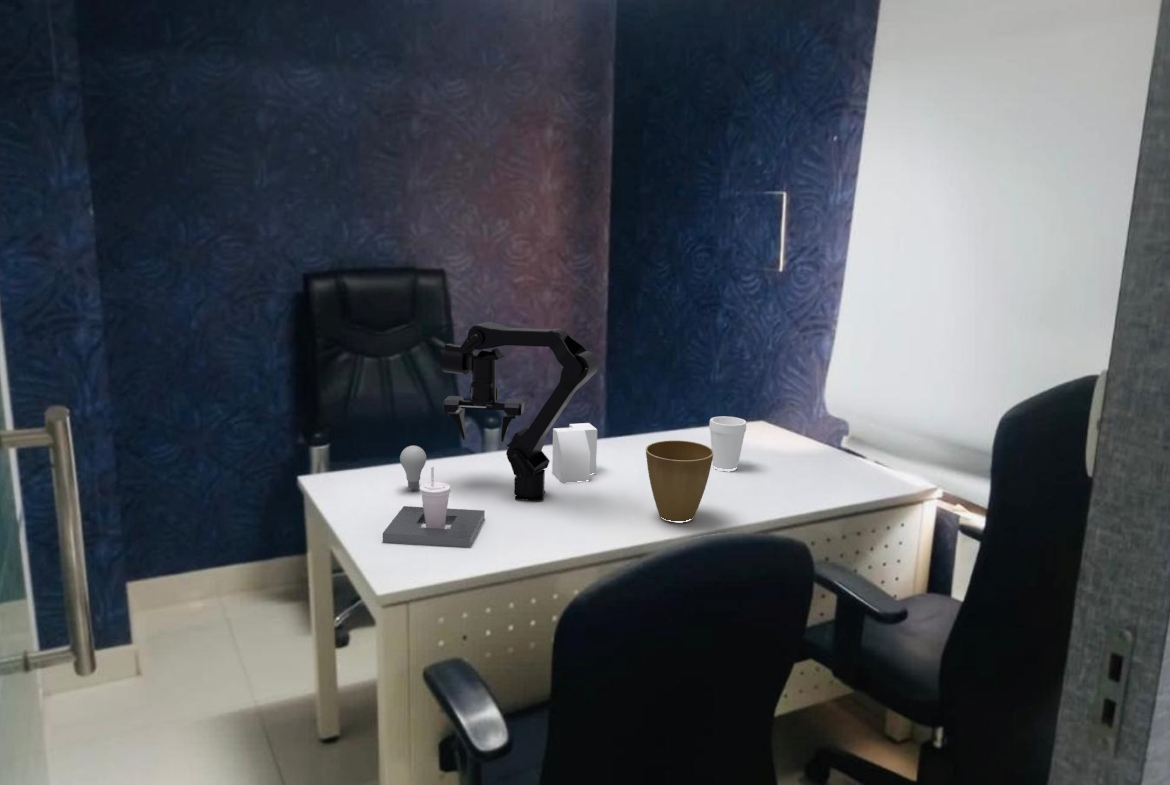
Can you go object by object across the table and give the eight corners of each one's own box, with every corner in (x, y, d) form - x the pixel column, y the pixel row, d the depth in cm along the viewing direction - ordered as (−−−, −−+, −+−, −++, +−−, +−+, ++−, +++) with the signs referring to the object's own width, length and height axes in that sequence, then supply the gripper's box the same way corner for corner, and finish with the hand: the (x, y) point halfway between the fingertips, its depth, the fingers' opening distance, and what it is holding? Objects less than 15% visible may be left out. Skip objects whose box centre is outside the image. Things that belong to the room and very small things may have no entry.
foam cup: (748, 467, 239) (751, 420, 236) (734, 476, 232) (738, 427, 229) (715, 460, 244) (718, 414, 241) (701, 469, 237) (704, 421, 234)
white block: (587, 467, 236) (588, 422, 233) (601, 480, 225) (603, 434, 223) (548, 469, 232) (549, 425, 230) (561, 483, 222) (562, 437, 219)
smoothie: (421, 524, 192) (420, 462, 189) (451, 524, 193) (451, 462, 190) (418, 536, 186) (418, 472, 183) (450, 536, 187) (449, 472, 184)
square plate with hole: (484, 519, 197) (484, 510, 196) (470, 547, 181) (470, 538, 181) (403, 514, 198) (403, 506, 198) (382, 542, 182) (382, 533, 182)
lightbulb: (421, 495, 210) (420, 450, 208) (396, 493, 211) (395, 448, 209) (430, 487, 216) (430, 443, 214) (406, 485, 217) (405, 441, 215)
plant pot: (641, 505, 208) (644, 439, 205) (705, 507, 208) (709, 441, 204) (643, 529, 194) (646, 458, 190) (712, 531, 194) (717, 460, 190)
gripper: (527, 371, 218) (526, 433, 221) (451, 368, 219) (452, 429, 222) (521, 381, 207) (520, 446, 210) (441, 377, 208) (441, 442, 211)
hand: (483, 440), depth 214 cm, fingers open, 9 cm apart
